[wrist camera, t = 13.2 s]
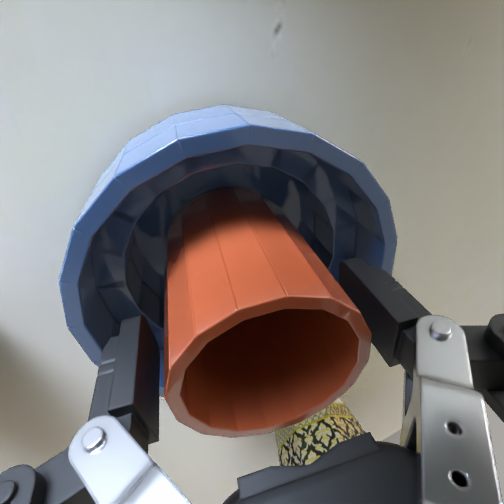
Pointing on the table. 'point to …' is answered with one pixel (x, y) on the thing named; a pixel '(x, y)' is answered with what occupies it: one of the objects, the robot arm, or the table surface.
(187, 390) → the cup
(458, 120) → the table surface
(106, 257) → the bowl
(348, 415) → the ceramic cup
